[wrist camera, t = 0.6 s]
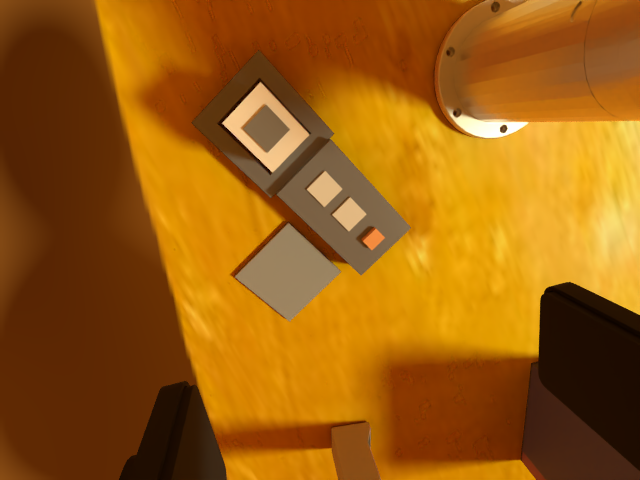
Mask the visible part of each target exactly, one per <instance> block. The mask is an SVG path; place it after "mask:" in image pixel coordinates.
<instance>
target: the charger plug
mask: <svg viewBox="0 0 640 480" xmlns="http://www.w3.org/2000/svg"><path fill="white" fill-rule="evenodd" d="M222 124H223V125H224V126H225V127H226V128H227V129H228V130H229V131H230V132H232V133H233V134H234V135H235V136H236V137H237V138H238V139H239V140H240V141H241V142H242V143H243V144H244V145H245V146H246V147H247V148H248V149H249V150H250V151H251V152H252V153H253V154H254V155H255V156H256V157H257V158H258V159H259V160H260V161H261V162H262V163H263V164H264V165H265V166H266V167H267V168H268V169H269V170H270V171H271V172H272V173H273V172H274V171H275V170H276V169H277V168H278V167H279V166H280V165H281V164H282V163H283V162H284V161H285V160H286V158H287V157H288V156H289V155H290V154H291V153H292V152H293V151H294V150H295V149H296V148H297V147H298V146H299V145H300V144H301V143H302V142H303V141H304V140H305V139H306V138H307V137H308V136H309V134H308V133H307V131H306V130H305V129H304V128H303V127H302V126H301V125H300V124H299V123H298V122H297V121H296V120H295V119H294V117H293V116H292V115H291V114H290V113H289V112H288V111H287V110H286V109H285V108H284V107H283V106H282V105H281V103H280V102H279V101H278V100H277V99H276V98H275V97H274V96H273V95H272V94H271V93H270V92H269V91H268V90H267V88H266V87H265V86H264V85H263V84H262V83H261V82H260V83H259V84H258V85H257V86H256V87H255V89H254V90H253V91H252V92H251V93H250V94H249V95H248V96H247V97H246V98H245V99H244V100H243V101H242V102H241V104H240V105H239V106H238V107H237V108H236V109H235V110H234V111H233V112H232V113H231V114H230V115H229V116H228V117H227V118H226V120H225V121H224V122H223V123H222Z"/></svg>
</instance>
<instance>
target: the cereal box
mask: <svg viewBox="0 0 640 480" xmlns="http://www.w3.org/2000/svg"><path fill="white" fill-rule="evenodd" d="M538 364H539V362H536V363H531V372H530V381H529V390H528V399H527V408H526V417H525V426H524V435H523V444H522V453H521V461H522V462H523V463H524V465H525V466H526V467H527V468H528V470H529V471H530V472H531V473H532V475H533V476H534V477H535V479H536V480H640V471H639V470H638V469H636V468H635V467H634V466H633V465H632V464H631V463H630V462H629V461H627V460H626V459H625V458H624V457H623V456H622V455H621V454H620V453H618V452H617V451H616V450H615V449H614V448H613V447H612V446H611V445H609V444H608V443H607V442H606V441H605V440H604V439H603V438H601V437H600V436H599V435H598V434H597V433H596V432H595V431H594V430H592V429H591V428H590V427H589V426H588V425H587V424H586V423H585V422H583V421H582V420H581V419H580V418H579V417H578V416H577V415H576V414H574V413H573V412H572V411H571V410H570V409H569V408H568V407H566V406H565V405H564V404H563V403H562V402H561V401H560V400H559V399H557V398H556V397H555V396H554V395H553V394H552V393H551V392H550V391H548V390H547V389H546V388H545V387H544V386H543V384H542V383H541V381H540V379H539V375H538Z"/></svg>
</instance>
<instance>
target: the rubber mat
mask: <svg viewBox="0 0 640 480" xmlns="http://www.w3.org/2000/svg"><path fill="white" fill-rule="evenodd" d="M340 272H341V271H340V270H339V269H338V268H337V267H336V266H335V265H334V264H333V263H332V262H331V261H329V260H328V259H327V258H326V257H325V256H324V255H323V254H322V253H321V252H320V251H319V250H318V249H317V248H316V247H315V246H313V245H312V244H311V243H310V242H309V241H308V240H307V239H306V238H305V237H304V236H303V235H302V234H301V233H300V232H298V231H297V230H296V229H295V228H294V227H293V226H292V225H291V224H290V223H289V222H288V223H287V224H286V225H285V226H284V227H283V228H282V229H281V230H280V231H279V232H278V233H277V234H276V235H275V236H274V237H273V238H272V239H271V240H270V241H269V242H268V243H267V244H266V245H265V246H264V247H263V248H262V249H261V250H260V251H259V252H258V253H257V254H256V255H255V256H254V257H253V258H252V259H251V260H250V261H249V262H248V263H247V264H246V265H245V266H244V267H243V268H242V269H241V270H240V271H239V272H238V273H237V274H236V275H235V278H236V279H238V280H239V281H240V282H241V283H243V284H244V285H245V286H246V287H248V288H249V289H250V290H251V291H253V292H254V293H255V294H256V295H257V296H259V297H260V298H261V299H262V300H264V301H265V302H266V303H267V304H269V305H270V306H271V307H272V308H274V309H275V310H276V311H277V312H279V313H280V314H281V315H282V316H283V317H285V318H286V319H287V320H288V321H290V320H292V319H293V318H294V317H295V316H296V315H297V314H298V313H299V312H300V311H301V310H302V309H303V308H304V307H305V306H306V305H307V304H308V303H309V302H310V301H311V300H312V299H313V298H314V297H315V296H316V295H318V294H319V293H320V292H321V291H322V290H323V289H324V288H325V287H326V286H327V285H328V284H329V283H330V282H331V281H332V280H333V279H334V278H335V277H336V276H337V275H338V274H339V273H340Z"/></svg>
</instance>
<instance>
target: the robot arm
mask: <svg viewBox="0 0 640 480" xmlns="http://www.w3.org/2000/svg"><path fill="white" fill-rule="evenodd" d="M446 51H447V52H448V56H447V54H446ZM434 82H435V92H436V96H437V101H438V103H439V106H440V108H441V110H442V112H443V114H444V115H445V117H446V118H447V120H448V121H449V122H450V123H451V124H452V125H453V126H454V127H455V128H456V129H457V130H459V131H461V132H462V133H464V134H466V135H469V136H472V137H475V138H484V139H491V138H500V137H505V136H507V135H510V134H512V133H514V132H516V131H518V130H519V129H521V128H522V127H524V126H525V125H527V124H528V123H529V122H585V121H640V0H529V1H526V0H485V1H483V2H481V3H480V4H478V5H476V6H474V7H472V8H471V9H470V10H468V11H467V12H465V13H464V14H463V15H462V16H461V17H460V18H459V19H458V20H457V21H456V22H455V23H454V24H453V25H452V27H451V28H450V30H449V31H448V33H447V34H446V36H445V38H444V40H443V42H442V44H441V46H440V49H439V52H438V56H437V59H436V65H435V73H434ZM453 111H454V112H455V113H454V115H453ZM538 375H539V379H540V381H541V383H542V384H543V386H544V387H545V388H546V389H547V390H548V391H550V392H551V393H552V394H553V395H554V396H555V397H556V398H557V399H559V400H560V401H561V402H562V403H563V404H564V405H565V406H566V407H568V408H569V409H570V410H571V411H572V412H573V413H574V414H576V415H577V416H578V417H579V418H580V419H581V420H582V421H583V422H585V423H586V424H587V425H588V426H589V427H590V428H591V429H592V430H594V431H595V432H596V433H597V434H598V435H599V436H600V437H601V438H603V439H604V440H605V441H606V442H607V443H608V444H609V445H611V446H612V447H613V448H614V449H615V450H616V451H617V452H618V453H620V454H621V455H622V456H623V457H624V458H625V459H626V460H627V461H629V462H630V463H631V464H632V465H633V466H634V467H635V468H636V469H638V470H639V471H640V315H638V314H636V313H634V312H632V311H630V310H628V309H626V308H624V307H622V306H620V305H618V304H615V303H613V302H611V301H609V300H607V299H605V298H603V297H601V296H599V295H597V294H595V293H593V292H591V291H588V290H586V289H584V288H582V287H580V286H578V285H576V284H574V283H571V282H566V283H562V284H558V285H554V286H551V287H548V288H546V290H545V291H544V294H543V295H542V296H541V300H540V332H539V364H538ZM119 480H227V478H226V468H225V464H224V461H223V458H222V455H221V452H220V450H219V447H218V444H217V441H216V438H215V435H214V432H213V430H212V427H211V424H210V421H209V418H208V415H207V412H206V410H205V407H204V404H203V401H202V398H201V395H200V393H199V390H198V387H197V386H196V385H193V386H190V385H189V384H188V382H186V381H184V382H180V383H175V384H172V385H168V386H164V387H162V388H161V389H160V391H159V393H158V396H157V399H156V402H155V405H154V407H153V410H152V413H151V416H150V419H149V422H148V424H147V427H146V430H145V433H144V436H143V438H142V441H141V444H140V447H139V450H138V452H137V455H134V456H131V457H130V458H129V459H128V460H127V462H126V464H125V466H124V468H123V470H122V473H121V476H120V478H119Z"/></svg>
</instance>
